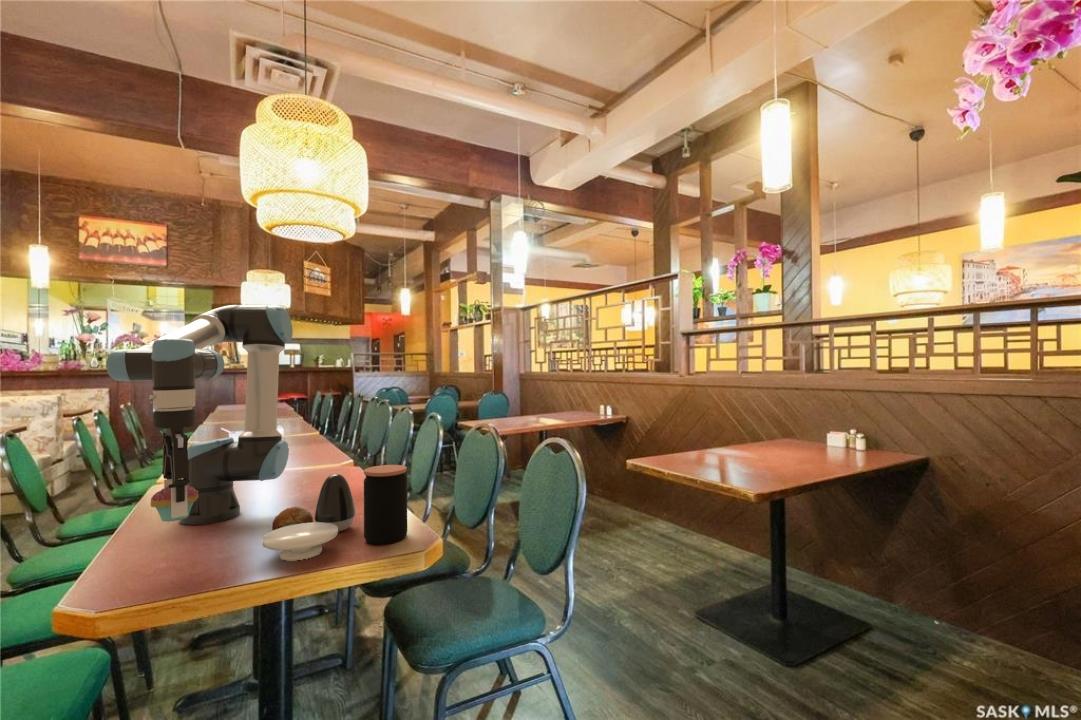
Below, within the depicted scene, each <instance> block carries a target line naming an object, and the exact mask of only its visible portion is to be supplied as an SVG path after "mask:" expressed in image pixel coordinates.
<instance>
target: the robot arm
mask: <svg viewBox="0 0 1081 720" xmlns="http://www.w3.org/2000/svg"><path fill="white" fill-rule="evenodd" d="M289 314H290V313H289V312H288V311H287V309H286V308H284V307H283V306H281V305H271V304H247V305H246V304H244V305H243V304H231V305H224V306H220V307H217V308H214V309H213V308H212V309H210V310H208V311H206V312H203V313H200V314H199V315H196V316H195V317H193V318H192V319H191V320H190V322H189V323H188V324H186V325H183V326H182V327H180V328H178V329H175V330H173V331H171V332H170V333H167V334H165V335H163V336H161V337H159V338H156V339H155V340H152V341H150V342H147V343H145V344H144V345H141V346H139V347H136V348H132V349H131V348H124V349H115V350H112V351H111V352H110V354H108V356H107V358H106V362H105V368H106V372H107V374H108V376H109V377H110V378H111V379H112V380H115V381H118V382H130V383H133V382H152V393H153V394H150V395H149V397H148V398H149V400H152V407H153V409H156V410H154V411H153V412H152V427H153V428H154V429H157V430H158V429H159V430H165V432H162V434H161V436H162V439H161V442H162V471H161V474H162V477H163V489H164V488H166V487H168V488H171V518H177V517H182V516H187V515H188V509H187V486H190V487H193V488H195V489H196V490H197V491H198V498H197V500H196V501H195V502H194V503H193V505H192V507H191V510H190V513H189V516H188V517H187V518H185V519H181V520H178V522H179V523H180V524H182V525H190V526H191V525H193V526H194V525H195V526H196V525H205V524H206V525H207V524H212V523H217V522H223V521H226V520H230V519H232V518H235V517H238V516H239V515H240V514H241V505H240V502H239V500H238V498H237V495H236V493H235V489H234V482H249V481H260V482H263V481H269V480H276V479H278V478H279V477H280V476H282V474H283V473H284V471H285V469H286V467H287V463H288V460H289V453H290V452H289V451H290V448H289V444H288V442H287V441H286V440H284V439H283V438H282V437H283V435H282V433H281V432H279V431H278V428H277V426H278V424H277V423H278V399H279V396H278V395H279V374H280V373H279V372H280V371H279V369H280V367H279V366H280V353H282V352H283V351H284V350H285V347H286V343H287V344H288V343H289V342H291V341H292V339H293V334H294V331H293V325H292V320H291V317H290V315H289ZM220 343H242V344H241V345H242V346H241V347H242V348H243V349H244V350H245V351H246V352H247V365H246V387H245V389H246V390H245V408H244V409H245V410H244V411H245V412H244V430H243V431H242V433H240V434H239V435H238V438H237V439H238V440H237V441H236V442H235V439H234V437H223V438H217V439H209V440H205V441H204V440H203V441H200V442H196V443H192V444H190V445H188V444H189V438H188V435H187V434H185V433H184V432H185V431H184V429H185V428H189V427H193V426H195V425H196V410H195V409H194V408H193V407H195V406H196V381H209V380H212V379H215V378H218V377H219V376H220V375H221V374H222V373H223V371H224V369H225V361H224V358H223V356H222V355H221V354H220V353H219V352H217V351H216V350H212V349H209V348H206V347H209V346H216V345H218V344H220ZM282 439H283V440H282ZM178 479H179V480H178Z"/></svg>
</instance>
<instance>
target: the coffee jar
mask: <svg viewBox="0 0 1081 720" xmlns="http://www.w3.org/2000/svg"><path fill="white" fill-rule="evenodd" d="M407 470H408V468H407V466H405V465H401V464H384V465H375V466H370V467H366V468H365V469H364V470H363V474H364V476H365V477H364V479H363V537H364V540H365V541H366V542H367V543H368V544H370V545H374V546H386V545H387V544H388V545H392V544H396V543H399V542H401V541H403V540H404V539H405V538H406V536H407V534H408V476H407V475H406V473H407ZM388 545H387V546H388Z"/></svg>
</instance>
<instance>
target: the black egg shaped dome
mask: <svg viewBox="0 0 1081 720" xmlns="http://www.w3.org/2000/svg"><path fill="white" fill-rule="evenodd" d="M317 497H318V498H317V501H316V505H315V512H314V520H315V522H323V523H331V524H334V525H336V526H337V527H338V533H341V532H343V530H344V531H345V530H347V529H348V528H349V527H350V526H351V525H352V524H353V521H354V519H355V516H356V507H355V505H356V504H355V501H354V500H355V499H354V497H353V493H352V490H351V487H350V485H349V482H348V481H347V479H346V478H345V477H344V475H342V474H340V473H339V474H338V473H333V474H330V475H329V476H328V477H327V478H325V480H324V482H323V483H322V485H321V488H320V490H319V493H318V496H317ZM340 531H341V532H340Z"/></svg>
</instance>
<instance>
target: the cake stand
mask: <svg viewBox="0 0 1081 720" xmlns="http://www.w3.org/2000/svg"><path fill="white" fill-rule="evenodd" d="M338 534H339V532H338V527H337V526H336V525H334V524H331V523H323V522H316V521H314V522H312V523H302V524H295V525H290V526H286V527H282V528H279V529H276V530H273V531H272V530H271V531H269V532H267V533H266V534H264V535H263V537H262V547H263V548H266V549H269V550H274V551H280V552H279V560H281V559H282V560H281V561H283V560H286V561H285V562H298V561H297V560H301V561H304V560H303V559H306V560H309V559H308V558H310V559H312V558H311V557H313V558H315V557H314V556H316V557H318V556H319V555H320V553H321V552H322V553H323V545H322V544H325V543H328V542H330V541H332V540H333V539H334V538H336V537H337V536H338ZM317 555H318V556H317Z"/></svg>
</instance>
